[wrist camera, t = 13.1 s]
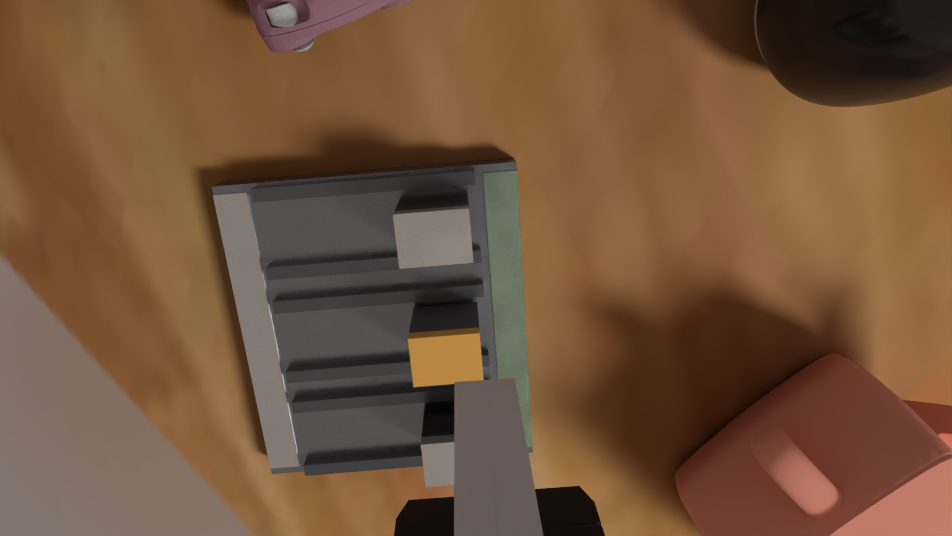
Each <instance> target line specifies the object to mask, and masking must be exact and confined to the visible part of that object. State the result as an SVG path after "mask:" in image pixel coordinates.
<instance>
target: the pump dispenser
mask: <svg viewBox="0 0 952 536" xmlns="http://www.w3.org/2000/svg"><path fill="white" fill-rule="evenodd" d="M754 29H755V36H756V41H757V45H758V48H759V51H760V53H761V55H762V57H763V59H764V61H765V63H766V64H767V66H768V68H769V70H770V71H771V73H772V74H773V76H774V77H775V78H776V79H777V81H778V82H779V83H780V84H781V85H782V86H783V87H785V88H786V89H787V90H788V91H790V92H791V93H792V94H794V95H796V96H797V97H799V98H801V99H803V100H806V101H808V102H811V103H815V104H819V105H824V106H833V107H859V106H868V105H876V104H882V103H888V102H894V101H899V100H904V99H909V98H913V97H917V96H920V95H924V94H928V93H931V92H934V91H937V90H941V89H944V88H947V87H950V86H952V0H756V5H755V12H754Z"/></svg>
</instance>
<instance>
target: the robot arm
mask: <svg viewBox="0 0 952 536" xmlns="http://www.w3.org/2000/svg"><path fill="white" fill-rule="evenodd" d="M394 536H605V535H604V531H603V528H602V526H601V522H600V519H599V515H598V512H597V509H596V506H595V502H594V501H593V500H592V499H591V498H590V497H589V496H588V495H587V494H586V493H585V492H584V491H583V490H582V489H581V487H580V486H572V487H559V488H545V489H535V487H534V482H533V476H532V471H531V465H530V460H529V455H528V449H527V444H526V438H525V433H524V427H523V422H522V416H521V411H520V406H519V400H518V395H517V389H516V384H515V378H505V379H491V380H477V381H463V382H454V497H445V498H431V499H418V500H408V502H407V503H406V505H405V506H404V508H403V509H402V511H401V512H400V514H399V515H398V517H397V518H396V525H395V533H394Z"/></svg>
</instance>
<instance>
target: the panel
mask: <svg viewBox="0 0 952 536" xmlns="http://www.w3.org/2000/svg"><path fill="white" fill-rule="evenodd" d="M212 191H213V199H214V204H215V208H216V213H217V218H218V223H219V227H220V232H221V237H222V241H223V246H224V251H225V256H226V260H227V265H228V270H229V275H230V279H231V284H232V289H233V294H234V298H235V303H236V308H237V313H238V317H239V322H240V327H241V331H242V336H243V341H244V346H245V350H246V355H247V360H248V365H249V369H250V374H251V379H252V384H253V388H254V393H255V398H256V403H257V407H258V412H259V417H260V422H261V426H262V431H263V436H264V440H265V445H266V450H267V455H268V459H269V464H270V469H271V471H272V474H277V473H290V472H302V471H304V472H305V476H308V475H320V474H332V473H344V472H356V471H368V470H380V469H393V468H405V467H417V466H423V468H424V476H425V484H426V487H435V486H447V485H454V384H447V385H435V386H423V387H413V378H412V370H411V362H410V354H409V345H408V335H409V330H410V324H411V319H412V313H413V308H414V307H423V306H435V305H447V304H459V303H471V302H477V306H478V318H479V330H480V342H481V354H482V366H483V379H484V380H491V379H505V378H515V384H516V389H517V395H518V400H519V406H520V411H521V416H522V422H523V427H524V433H525V438H526V444H527V449H528V453H530V452H533V449H532V429H531V411H530V394H529V376H528V359H527V341H526V323H525V306H524V288H523V270H522V253H521V235H520V218H519V200H518V182H517V167H516V161H515V159H514V158H512V159H500V160H487V161H475V162H463V163H451V164H438V165H426V166H414V167H402V168H389V169H377V170H365V171H353V172H340V173H328V174H316V175H303V176H291V177H279V178H267V179H254V180H242V181H230V182H220V183H218V184H216V185H214V186H212Z"/></svg>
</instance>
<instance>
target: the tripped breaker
mask: <svg viewBox="0 0 952 536" xmlns="http://www.w3.org/2000/svg"><path fill="white" fill-rule="evenodd" d="M408 345H409V354H410V362H411V370H412V378H413V387H423V386H435V385H447V384H454V382H463V381H477V380H484V379H483V366H482V354H481V342H480V330H479V318H478V306H477V302H471V303H459V304H447V305H435V306H423V307H414V308H413V313H412V319H411V324H410V330H409V335H408Z"/></svg>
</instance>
